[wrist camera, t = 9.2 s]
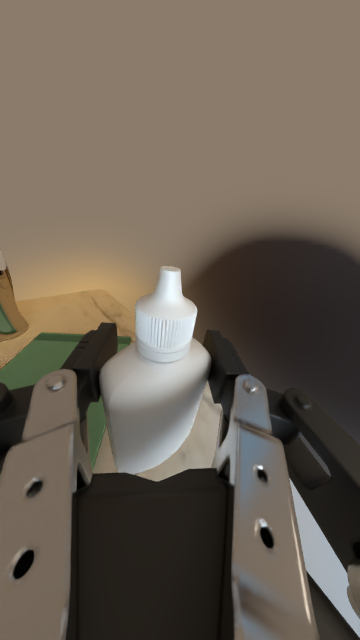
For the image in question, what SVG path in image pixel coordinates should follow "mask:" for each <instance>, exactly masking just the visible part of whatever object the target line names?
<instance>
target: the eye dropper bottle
mask: <svg viewBox="0 0 360 640" xmlns="http://www.w3.org/2000/svg"><path fill="white" fill-rule="evenodd" d="M196 314H197V308H196V306H195V305H194V303H193V302H191V301H190V300H189V299H187V298H185V297H183V295H182V289H181V271H180V269H179V268H176V267H171V266H162V267H161V269H160V272H159V277H158V280H157V284H156V287H155V291H154V292H153V293H152V294H148V295H145V296H143V297H141V298H140V299H139V300H138V301H137V302H136V305H135V323H136V341H135V342H134V343H132V344H130V345H128V346H127V347H125V348H124V349H122V350H121V351H119V352H118V353H117V354H115V355H114V356H113V357H112V358H110V359H109V360H108V361H107V362H106V363H105V364H104V365H103V367H102V368H101V370H100V374H99V384H100V391H101V397H102V402H103V408H104V413H105V419H106V424H107V429H108V434H109V440H110V445H111V450H112V454H113V458H114V462H115V466H116V469H117V471H118V472H119V473H122V472H126V473H129V474H136V473H140V472H143V471H146V470H149V469H151V468H153V467H155V466H157V465H159V464H161V463H162V462H164V461H165V460H167V459H168V458H169V457H170V456H171V455H173V454H174V453H175V452H176V451H177V450H178V448H179V447H180V446H181V445H182V444H183V442H184V441H185V440H186V438H187V437H188V435H189V433H190V431H191V429H192V426H193V423H194V420H195V417H196V414H197V411H198V408H199V405H200V401H201V398H202V395H203V392H204V389H205V386H206V382H207V379H208V376H209V372H210V369H211V356H210V354H209V352H208V351H207V350H206V349H205V348H204V347H203V346H202V345H201V344H200V343H199V342H198V341H197V340H195V339H194V338H192V334H193V329H194V324H195V319H196Z"/></svg>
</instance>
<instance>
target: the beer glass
mask: <svg viewBox="0 0 360 640" xmlns="http://www.w3.org/2000/svg"><path fill="white" fill-rule="evenodd" d="M27 328H28V323H27V321H26V320H25V319H24V317H23V316H22V315H21V313H20V312H19V310H18V308H17V305H16V302H15V298H14V293H13V287H12V281H11V277H10V273H9V269H8V266H7V264H6V261H5V259H4V257H3V254H2V252H1V250H0V341H4V340H8V339H11V338H14V337H16V336H18V335H20V334H22V333H23V332H25V331H26V330H27Z"/></svg>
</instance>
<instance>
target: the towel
mask: <svg viewBox="0 0 360 640" xmlns="http://www.w3.org/2000/svg"><path fill="white" fill-rule="evenodd" d="M83 336H84V335H83V334H62V333H41V334H39V335H38V336H37V337H36V338H35V339H34V340H33V341H32V342H31V343H30V344H29V345H27V346H26V347H25V348H24V349H23V350H22V351H21V352H20V353H19V354H17V355H16V356H15V357H14V358H13V359H12V360H11V361H10V362H9V363H7V364H6V365H5V366H4V367H3V368H2V369H1V370H0V382H1V383H4V384H5V385H6V386H7V387H8V389H9V390H12V389H17V388H21V387H26V386H30V385H35V384H36V383H37V382H38V381H39V380H40V379H41V378H42V377H43V376H45V375H46V374H48V373H50V372H53V371H56V370H59V369H60V368H61V366H62V365H63V364H64V362H65V361H66V359H67V358H68V357H69V355H70V354H71V352H72V351H73V350H74V348H75V347H76V346H77V344H78V343H79V341H80V340H81V339H82V337H83ZM117 338H118V350H117V353H118V352H119V351H121V350H122V349H124V348H125V347H127V346H128V345H130V342H131V337H123V336H117ZM87 413H88V430H89V449H90V460H91V466H92V471H93V467H94V464H95V460H96V457H97V454H98V450H99V447H100V443H101V440H102V437H103V433H104V430H105V426H106V419H105V413H104V408H103V402H102V397H101V396H100V399H99V402H91V403H90V405H89V407H88V410H87ZM0 475H1V474H0Z"/></svg>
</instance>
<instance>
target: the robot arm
mask: <svg viewBox="0 0 360 640" xmlns="http://www.w3.org/2000/svg"><path fill="white" fill-rule="evenodd" d="M203 347H204V348H205V349H206V350H207V351H208V352H209V354H210V356H211V369H210V372H209V376H208V382H209V386H210V390H211V394H212V397H213V401H214V403H221V405H222V411H221V414H220V422H219V430H218V437H217V445H216V451H215V456H214V459H213V463H212V467H211V468H204V469H188V470H186V471H183V472H181V473H178V474H176V475H174V476H171V477H169V478H166V479H164V480H162V481H159V482H155V481H152V480H148V479H145V478H142V477H139V476H136V475H132V474H129V473H126V472H122V473H101V474H93V473H92V466H91V460H90V449H89V430H88V413H87V410H88V407H89V405H90V403H91V402H99V399H100V396H101V391H100V384H99V374H100V370H101V368H102V367H103V365H104V364H105V363H106V362H107V361H108V360H109V359H110V358H112V357H113V356H114V355H115V354H117V350H118V338H117V327H116V323H104V322H102V323H101V324H100V326H99V327H98V329H97V330H91V331H90V332H88V333H87V334H85V335H84V336H83V337H82V339H81V340H80V341H79V343H78V344H77V346H76V347H75V348H74V350H73V351H72V352H71V354H70V355H69V357H68V358H67V359H66V361H65V362H64V364H63V365H62V366H61V368H60V369H59V370H56V371H53V372H50V373H48V374H46V375H45V376H43V377H42V378H41V379H40V380H39V381H38V382H37V383H36V384H35V385H30V386H26V387H21V388H17V389H12V390H9V389H8V387H7V386H6V385H5V384H4V383H1V382H0V474H1V475H0V640H360V638H359V637H358V635H357V634H356V633H355V631H354V630H353V629H352V628H351V626H350V625H349V624H348V623H347V621H346V620H345V619H344V618H343V616H342V615H341V614H340V613H339V611H338V610H337V609H336V607H335V606H334V605H333V604H332V602H331V601H330V600H329V599H328V597H327V596H326V595H325V594H324V592H323V591H322V590H321V588H320V587H319V586H318V585H317V583H316V582H315V581H314V580H313V578H312V577H311V576H310V575H309V573H308V572H307V571H306V568H305V562H304V557H303V551H302V546H301V540H300V535H299V529H298V524H297V518H296V513H295V507H294V502H293V496H292V491H291V485H290V480H289V477H290V479H291V481H292V482H293V484H294V486H295V487H296V489H297V491H298V492H299V494H300V496H301V497H302V499H303V501H304V502H305V504H306V506H307V507H308V509H309V511H310V512H311V514H312V516H313V517H314V519H315V520H316V522H317V524H318V525H319V527H320V529H321V530H322V532H323V534H324V535H325V537H326V539H327V540H328V542H329V544H330V545H331V547H332V549H333V550H334V552H335V554H336V555H337V557H338V558H339V560H340V562H341V563H342V565H343V567H344V568H345V570H346V572H347V575H348V582H349V586H348V587H347V595H348V599H349V602H350V604H351V606H352V608H353V610H354V611H355V613H356V614H357V616H358V617H359V618H360V445H358V443H357V442H356V441H355V440H353V438H352V437H351V436H349V434H348V433H347V432H346V431H345V430H344V429H343V428H342V427H341V426H340V425H339V424H338V423H337V422H336V421H335V420H334V419H333V418H332V417H331V416H330V415H329V414H328V413H327V412H326V411H325V410H324V409H323V408H322V407H321V406H320V405H319V404H318V403H317V402H316V401H315V400H314V399H312V397H310V396H309V395H308V394H306V393H305V392H303V391H301V390H298V389H295V388H289V389H287V390H286V391H285V393H284V394H281V393H278V392H275V391H271V390H268V389H266V388H265V387H264V385H263V384H262V383H261V382H260V381H259V380H258V379H257V378H255V377H253V376H251V375H249V373H248V372H247V370H246V368H245V366H244V364H243V362H242V360H241V359H240V357H239V356H238V353H237V351H236V349H235V347H234V346H233V344H232V343H231V342H230V341H229V340H228V339H227V338H223V337H222V335H221V333H220V331H219V330H209V329H208V330H207V331H206V334H205V338H204V342H203ZM302 434H303V436H304V437H305V438H306V440H307V441H308V442H309V443H310V444H311V446H312V447H313V448H314V450H315V451H316V452H317V453H318V455H319V456H320V457H321V459H322V460H323V461H324V463H325V464H326V465H327V467H328V469H329V471H330V474H331V477H330V476H329V475H328V474H327V473H326V472H325V471H324V469H323V468H322V467H321V465H320V464H319V463H318V462H317V460H316V459H315V458H314V456H313V455H312V454H311V452H310V451H309V450H308V448H307V447H306V446H305V444H304V443H303V442H302V440H301V439H300V438H299V437H300V436H301V435H302Z"/></svg>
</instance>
